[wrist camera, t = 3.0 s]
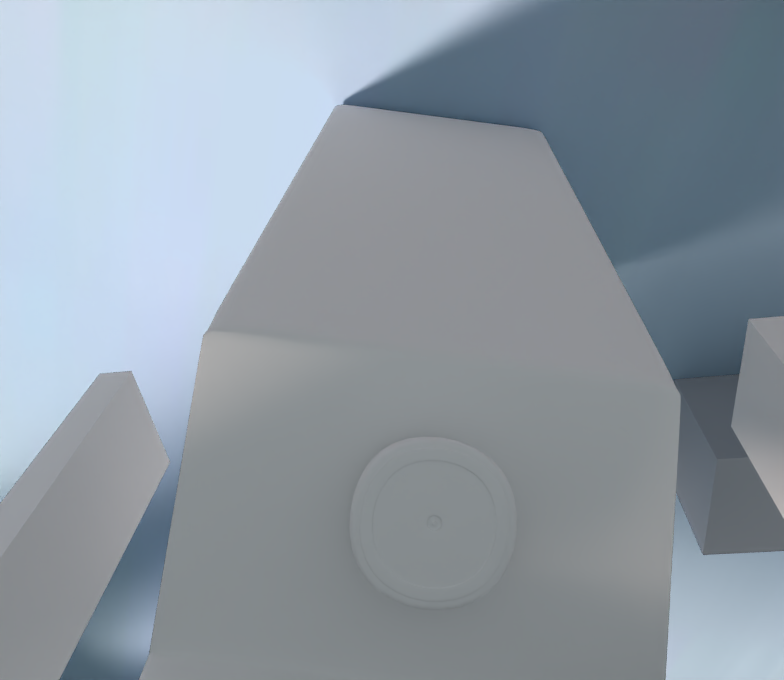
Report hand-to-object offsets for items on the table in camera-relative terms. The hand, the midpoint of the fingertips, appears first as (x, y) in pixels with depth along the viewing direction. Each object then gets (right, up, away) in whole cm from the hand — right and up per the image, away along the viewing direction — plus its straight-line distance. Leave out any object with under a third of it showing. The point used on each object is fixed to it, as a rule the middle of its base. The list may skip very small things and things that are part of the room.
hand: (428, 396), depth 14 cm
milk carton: (0, +6, +10) cm, 12 cm away
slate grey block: (+14, -2, +14) cm, 20 cm away
